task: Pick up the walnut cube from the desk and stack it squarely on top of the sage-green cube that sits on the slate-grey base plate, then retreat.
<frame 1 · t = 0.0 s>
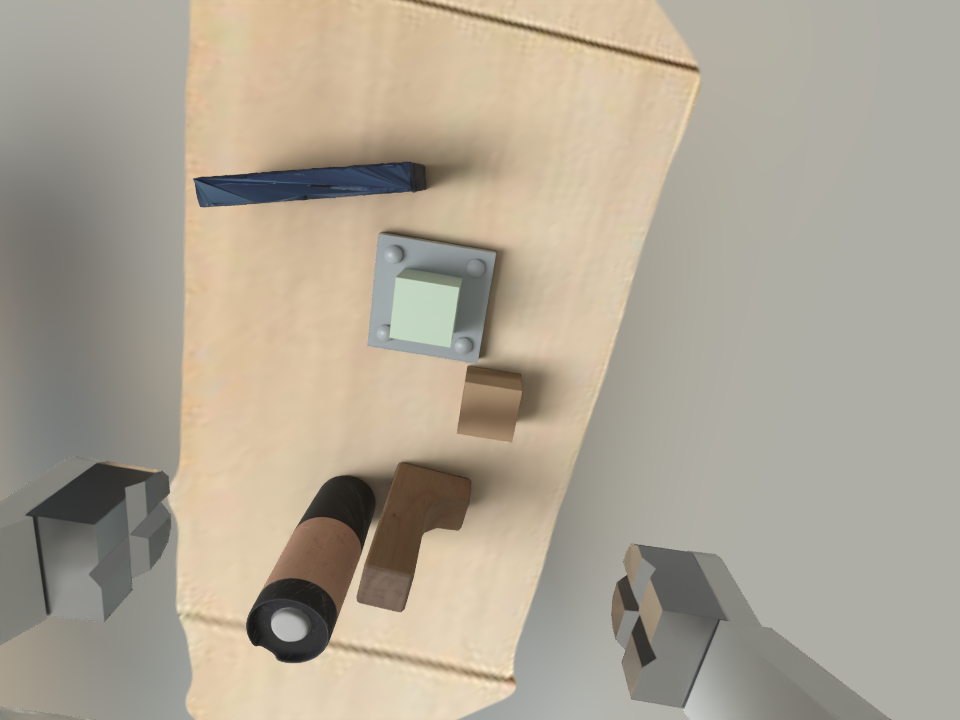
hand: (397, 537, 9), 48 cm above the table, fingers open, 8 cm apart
green brick: (429, 301, 56), point 1 cm above the table, touching base plate
base plate: (431, 298, 57), on the table
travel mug: (347, 499, 66), on the table
vhs cassette tape: (336, 183, 54), on the table
wooden block: (431, 484, 65), on the table
walnut brick: (489, 394, 61), on the table
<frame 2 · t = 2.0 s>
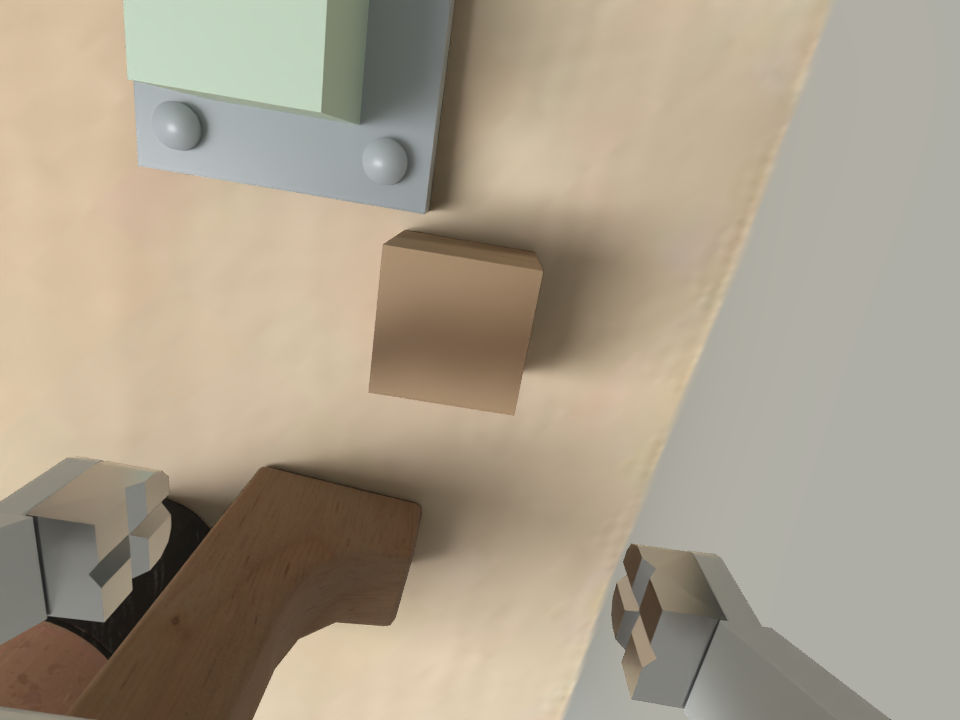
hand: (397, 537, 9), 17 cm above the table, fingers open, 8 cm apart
green brick: (287, 26, 20), point 1 cm above the table, touching base plate
base plate: (301, 35, 22), on the table
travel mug: (160, 545, 31), on the table
wooden block: (337, 513, 30), on the table
walnut brick: (460, 303, 25), on the table
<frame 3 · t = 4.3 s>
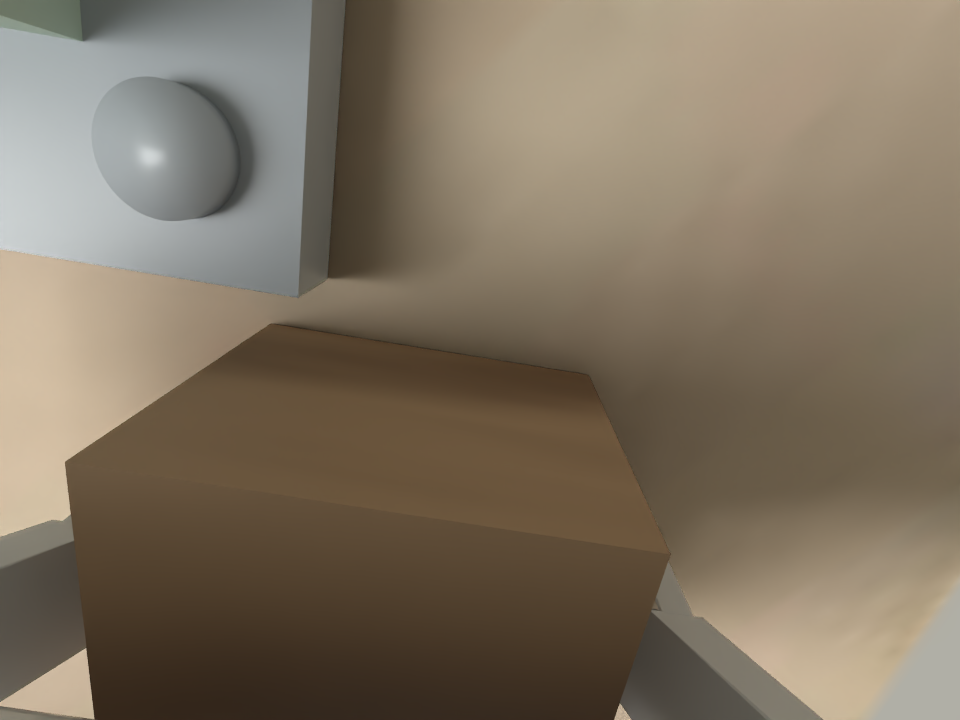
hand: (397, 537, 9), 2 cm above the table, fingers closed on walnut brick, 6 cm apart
walnut brick: (412, 486, 11), on the table, touching gripper
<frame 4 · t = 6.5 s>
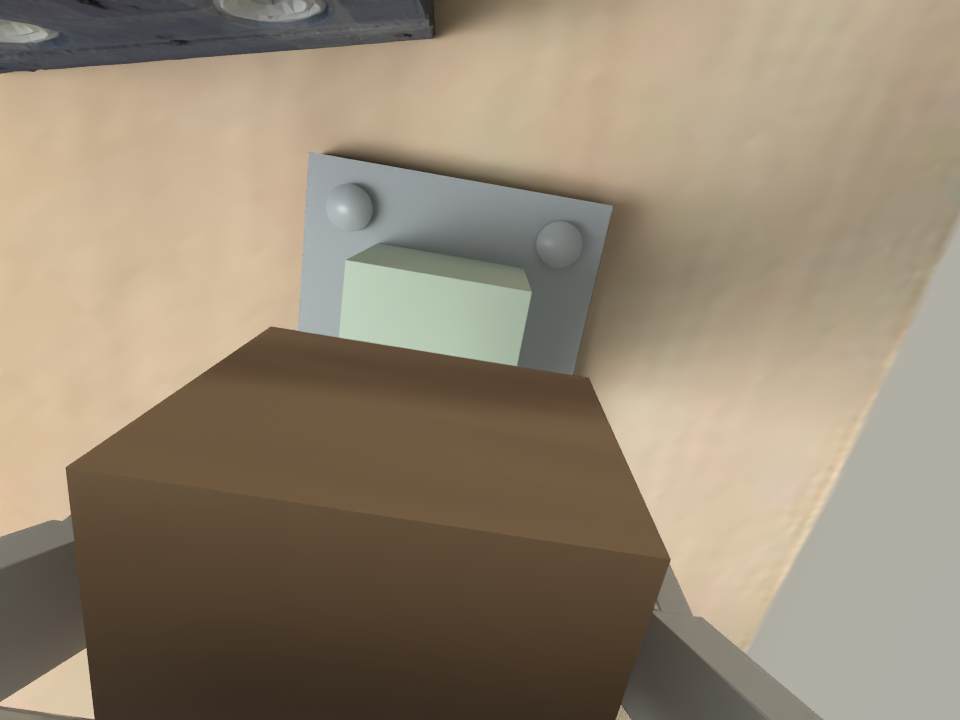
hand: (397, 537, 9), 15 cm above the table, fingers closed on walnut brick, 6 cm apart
green brick: (440, 326, 23), point 1 cm above the table, touching base plate
base plate: (443, 317, 24), on the table
vhs cassette tape: (204, 24, 21), on the table
walnut brick: (412, 488, 11), point 14 cm above the table, touching gripper
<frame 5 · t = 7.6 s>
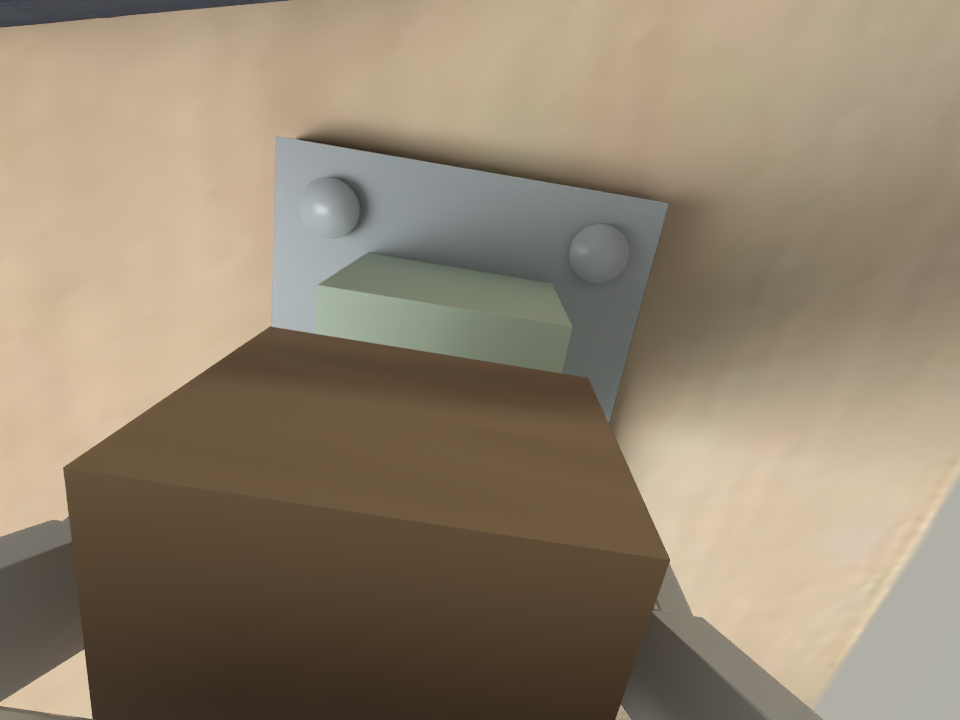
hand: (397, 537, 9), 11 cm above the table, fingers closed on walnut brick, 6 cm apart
green brick: (447, 354, 18), point 1 cm above the table, touching base plate
base plate: (450, 341, 20), on the table
walnut brick: (411, 488, 11), point 9 cm above the table, touching gripper
when the fingers open (10 cm above the table, at t = 8.7 s): walnut brick drops 1 cm, resting on green brick.
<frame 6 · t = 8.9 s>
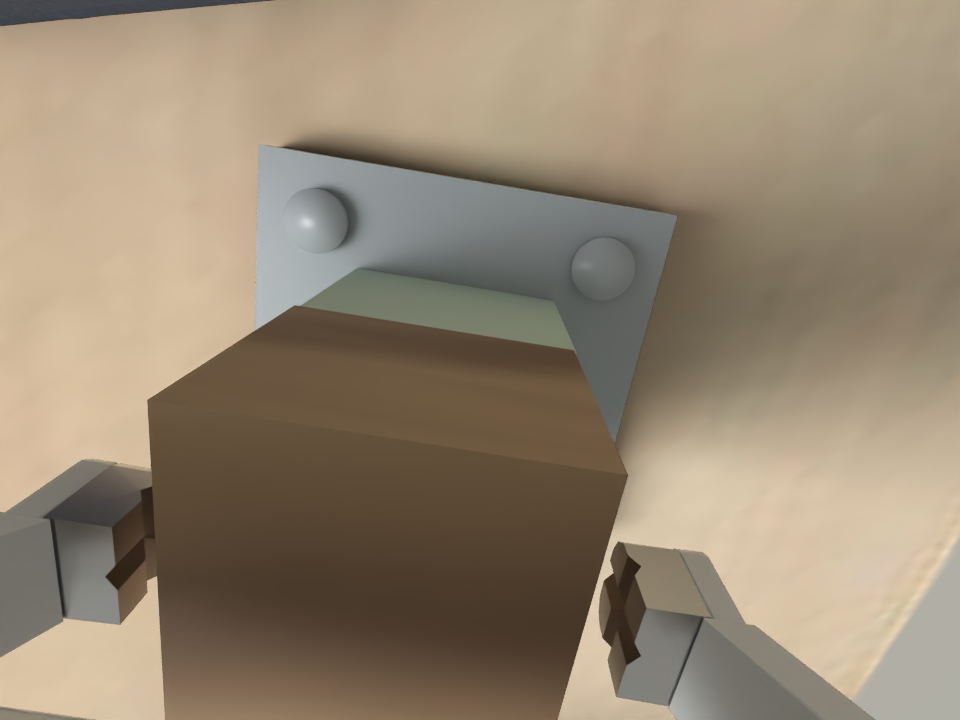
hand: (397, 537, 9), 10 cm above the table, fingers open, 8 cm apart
green brick: (442, 376, 17), point 2 cm above the table, touching base plate, walnut brick
base plate: (445, 360, 18), on the table
walnut brick: (418, 451, 12), point 7 cm above the table, touching green brick
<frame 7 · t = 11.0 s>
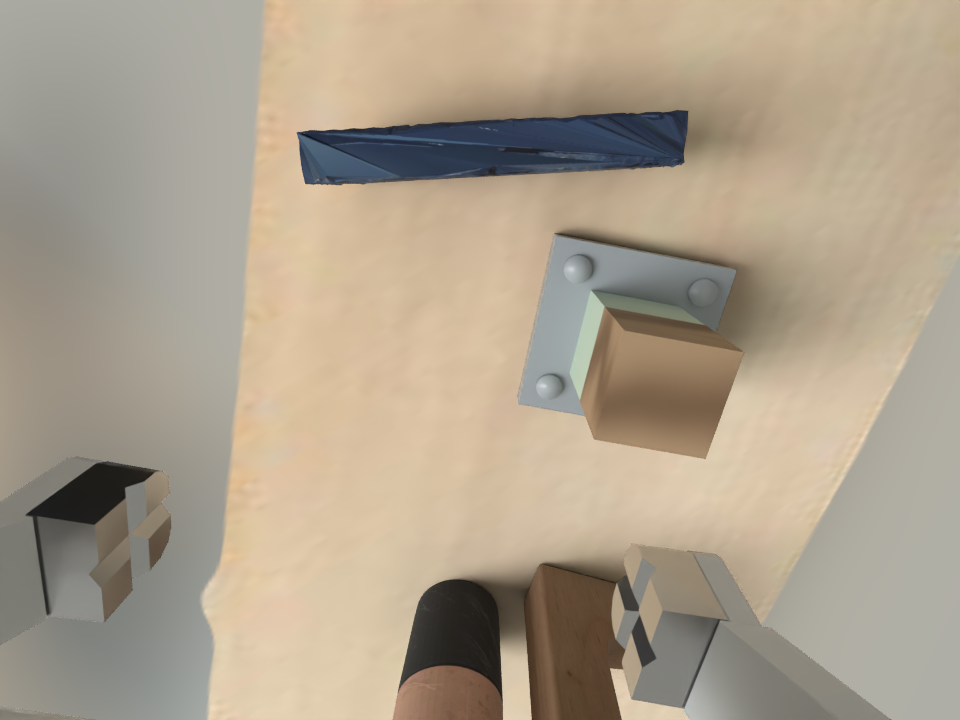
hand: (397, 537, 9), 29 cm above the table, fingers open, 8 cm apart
green brick: (622, 340, 36), point 1 cm above the table, touching base plate, walnut brick
base plate: (617, 334, 38), on the table
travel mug: (457, 610, 47), on the table
vhs cassette tape: (491, 156, 34), on the table
wooden block: (580, 593, 46), on the table
walnut brick: (641, 364, 32), point 6 cm above the table, touching green brick
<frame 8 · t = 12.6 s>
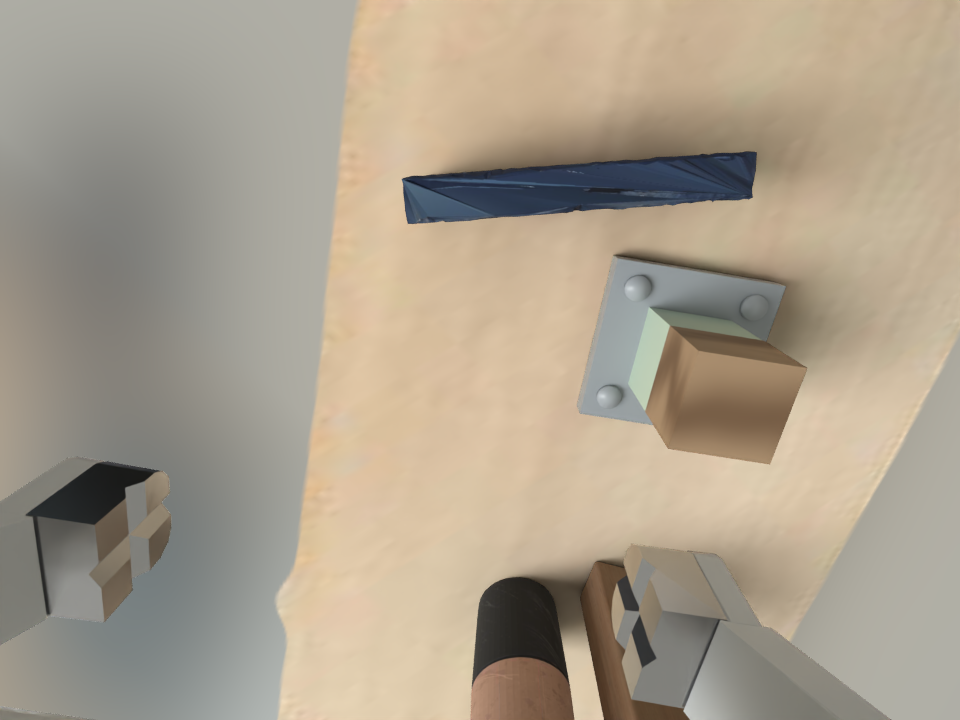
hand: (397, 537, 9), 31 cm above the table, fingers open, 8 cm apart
green brick: (678, 352, 39), point 1 cm above the table, touching base plate, walnut brick
base plate: (671, 346, 40), on the table
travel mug: (516, 606, 49), on the table
vhs cassette tape: (556, 185, 37), on the table
wooden block: (632, 588, 48), on the table
walnut brick: (702, 377, 34), point 6 cm above the table, touching green brick
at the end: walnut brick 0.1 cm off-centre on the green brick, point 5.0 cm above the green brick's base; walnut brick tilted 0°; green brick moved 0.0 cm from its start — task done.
